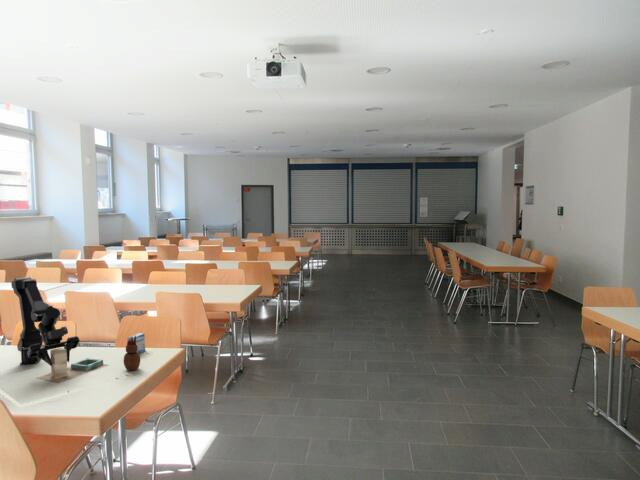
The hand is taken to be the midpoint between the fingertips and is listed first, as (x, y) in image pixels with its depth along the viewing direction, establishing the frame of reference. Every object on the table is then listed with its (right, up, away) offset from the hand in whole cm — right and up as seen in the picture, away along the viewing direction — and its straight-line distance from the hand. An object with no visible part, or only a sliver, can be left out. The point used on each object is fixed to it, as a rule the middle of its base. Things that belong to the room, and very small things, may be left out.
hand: (60, 363), depth 192 cm
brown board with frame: (+2, -6, +7) cm, 10 cm away
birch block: (-1, -6, +1) cm, 6 cm away
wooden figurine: (+25, -6, +11) cm, 28 cm away
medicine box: (+17, -5, +37) cm, 41 cm away
